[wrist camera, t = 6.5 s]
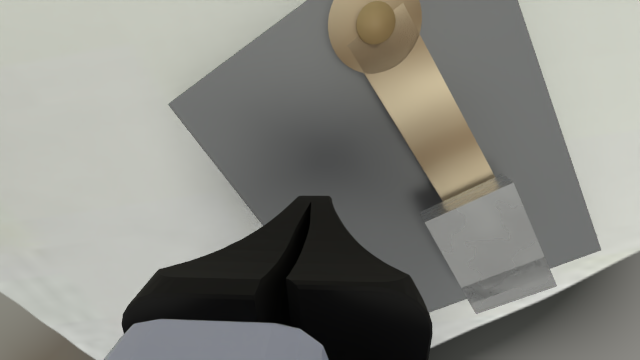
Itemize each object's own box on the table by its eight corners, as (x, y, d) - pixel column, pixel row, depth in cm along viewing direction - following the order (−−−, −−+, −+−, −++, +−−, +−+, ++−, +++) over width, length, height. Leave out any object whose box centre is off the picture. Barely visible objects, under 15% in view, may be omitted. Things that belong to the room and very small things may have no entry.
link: (312, 15, 16) (307, 10, 14) (387, -46, 15) (394, -63, 13) (448, 230, 21) (460, 252, 19) (513, 198, 20) (535, 217, 17)
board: (352, 328, 28) (353, 339, 26) (177, 101, 20) (167, 104, 19) (588, 240, 22) (601, 250, 21) (465, -113, 15) (475, -126, 14)
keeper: (411, 194, 20) (424, 222, 17) (484, 159, 19) (513, 182, 16) (456, 275, 23) (476, 313, 20) (524, 249, 21) (557, 286, 18)
